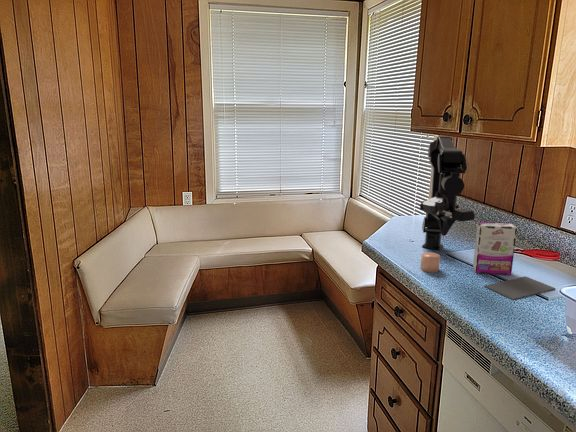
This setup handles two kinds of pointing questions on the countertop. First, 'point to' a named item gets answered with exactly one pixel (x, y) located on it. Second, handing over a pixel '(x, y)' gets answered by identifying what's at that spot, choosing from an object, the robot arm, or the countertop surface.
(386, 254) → the countertop surface
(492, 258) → the candy bar box
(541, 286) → the mat
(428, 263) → the tan short cylinder
